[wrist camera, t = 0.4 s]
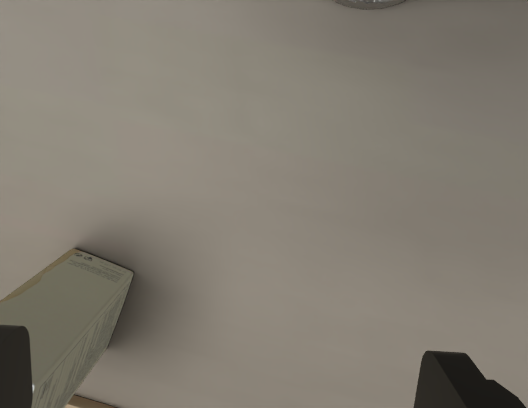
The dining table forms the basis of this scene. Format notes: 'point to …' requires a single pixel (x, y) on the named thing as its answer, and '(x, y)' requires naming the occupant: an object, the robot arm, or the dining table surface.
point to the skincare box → (67, 321)
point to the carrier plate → (85, 403)
